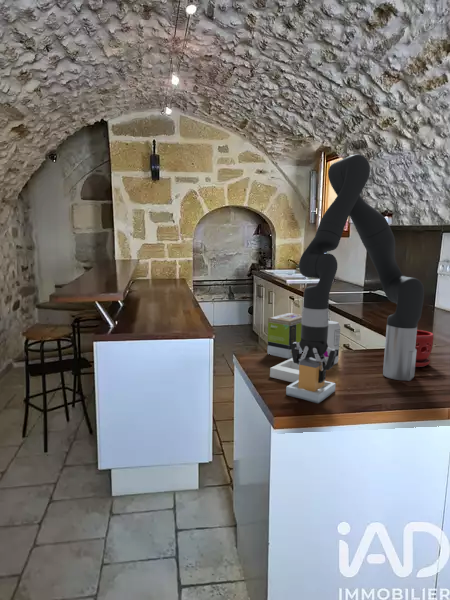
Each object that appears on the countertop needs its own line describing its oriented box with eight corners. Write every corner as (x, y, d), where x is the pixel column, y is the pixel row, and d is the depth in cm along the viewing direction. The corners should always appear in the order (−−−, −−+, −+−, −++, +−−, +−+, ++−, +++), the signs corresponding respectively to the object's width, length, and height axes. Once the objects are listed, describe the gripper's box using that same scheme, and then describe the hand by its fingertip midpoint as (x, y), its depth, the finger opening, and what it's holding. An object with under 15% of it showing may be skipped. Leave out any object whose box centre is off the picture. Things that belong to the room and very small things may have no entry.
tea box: (286, 347, 178) (288, 311, 176) (308, 351, 172) (310, 315, 170) (266, 354, 167) (267, 316, 165) (288, 359, 161) (290, 320, 158)
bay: (320, 371, 147) (321, 363, 146) (299, 384, 134) (300, 374, 133) (292, 365, 153) (292, 357, 152) (269, 376, 140) (270, 367, 140)
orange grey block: (324, 385, 128) (325, 359, 126) (314, 391, 122) (315, 364, 121) (308, 381, 130) (310, 355, 129) (298, 387, 125) (299, 361, 124)
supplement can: (321, 366, 153) (324, 324, 151) (311, 359, 161) (313, 320, 159) (342, 364, 155) (345, 323, 153) (330, 358, 163) (333, 319, 161)
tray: (335, 391, 128) (335, 383, 128) (318, 403, 119) (318, 394, 118) (304, 383, 134) (304, 376, 134) (286, 394, 125) (286, 386, 124)
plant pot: (432, 362, 161) (435, 330, 160) (428, 371, 150) (431, 337, 148) (395, 356, 168) (397, 326, 166) (389, 364, 157) (391, 332, 155)
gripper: (343, 324, 122) (340, 382, 125) (298, 318, 130) (295, 372, 133) (333, 328, 116) (330, 389, 119) (286, 321, 124) (283, 378, 127)
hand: (311, 379), depth 126 cm, fingers closed on orange grey block, 5 cm apart
